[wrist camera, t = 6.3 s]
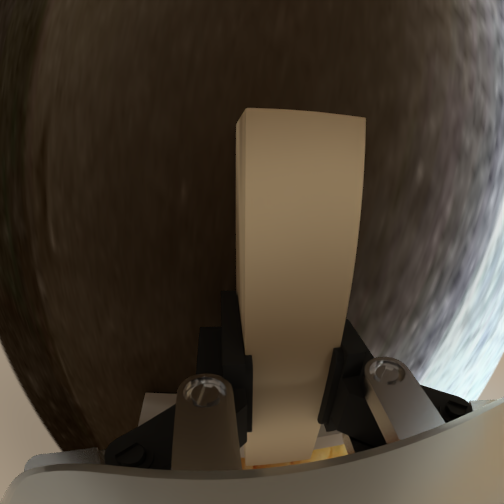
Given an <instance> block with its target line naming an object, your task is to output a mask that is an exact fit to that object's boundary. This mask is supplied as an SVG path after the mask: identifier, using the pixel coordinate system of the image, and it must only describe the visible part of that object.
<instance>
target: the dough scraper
mask: <svg viewBox="0 0 504 504" xmlns="http://www.w3.org/2000/svg"><path fill="white" fill-rule="evenodd" d="M365 133H366V118H363V117H356V116H348V115H341V114H332V113H323V112H313V111H301V110H287V109H266V108H246V109H245V110H244V112H243V114H242V115H241V117H240V119H239V120H238V122H237V124H236V292H237V295H238V302H239V311H240V319H241V327H242V335H243V343H244V351H245V355H252V360H253V412H252V432H247V442H246V443H245V444H244V445H243V446H242V447H241V448H240V455H241V458H245V464H246V466H254V465H266V464H276V463H285V462H293V461H300V460H306V459H310V458H311V455H312V452H313V450H316V449H321V448H327V447H332V446H337V445H342V444H344V442H343V438H342V434H343V433H341V432H339V431H337V430H336V431H330V432H326V429H325V426H324V424H319V423H318V421H317V418H318V414H319V410H320V406H321V402H322V398H323V394H324V390H325V385H326V381H327V377H328V372H329V367H330V363H331V358H332V353H333V348H337V347H340V345H341V341H342V336H343V331H344V325H345V320H346V315H347V309H348V303H349V298H350V292H351V285H352V279H353V272H354V265H355V258H356V250H357V242H358V233H359V224H360V214H361V203H362V191H363V177H364V160H365ZM176 398H177V394H165V393H145V397H144V401H143V406H142V410H141V415H140V419H139V424H138V426H140V425H141V424H143V423H145V422H147V421H148V420H150V419H152V418H153V417H155V416H156V415H158V414H160V413H161V412H163V411H165V410H166V409H168V408H169V407H171V406H173V405H174V404H176Z"/></svg>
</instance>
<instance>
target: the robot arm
mask: <svg viewBox="0 0 504 504" xmlns="http://www.w3.org/2000/svg"><path fill="white" fill-rule="evenodd" d="M221 320H222V327H200V333H199V344H198V356H197V369H196V375H194V376H191V377H189V378H187V379H186V380H184V381H183V382H182V383H181V384H180V385H179V388H178V391H177V398H176V404H174V405H173V406H171V407H169V408H168V409H166V410H165V411H163V412H161V413H160V414H158V415H156V416H155V417H153V418H152V419H150V420H148V421H147V422H145V423H143V424H141V425H140V426H138V427H136V428H135V429H133V430H131V431H129V432H128V433H126V434H124V435H122V436H121V437H119V438H117V439H116V440H114V441H113V442H112V443H110V445H109V446H108V447H107V449H104V450H98V448H97V447H94V448H88V449H81V450H74V451H67V452H59V453H49V454H40V455H36V456H33V457H32V458H31V459H29V460H28V462H27V463H26V465H25V469H24V472H23V473H21V474H20V475H18V476H17V477H16V478H15V479H14V480H13V481H12V483H11V484H10V485H9V487H8V488H7V490H6V492H5V494H4V496H3V498H2V500H1V502H0V504H504V397H502V398H500V399H498V400H480V401H470V402H469V403H468V402H467V401H466V400H464V399H462V398H460V397H458V396H454V395H451V394H448V393H445V392H441V391H438V390H435V389H432V388H429V387H426V386H422V385H420V384H419V383H418V381H417V380H416V379H415V377H414V376H413V374H412V373H411V371H410V370H409V369H408V367H407V366H406V365H405V364H404V363H402V362H401V361H399V360H397V359H394V358H390V357H377V358H374V357H373V356H372V354H371V353H370V351H369V350H368V348H367V347H366V345H365V344H364V342H363V341H362V339H361V338H360V336H359V335H358V333H357V332H356V330H355V329H354V327H353V326H352V324H351V323H350V321H349V320H348V319H346V320H345V325H344V331H343V336H342V341H341V345H340V347H337V348H333V353H332V358H331V363H330V367H329V372H328V377H327V381H326V385H325V390H324V394H323V398H322V402H321V406H320V410H319V414H318V418H317V421H318V423H319V424H324V426H325V429H326V432H330V431H336V430H337V431H339V432H341V433H343V434H342V438H343V442H344V445H345V447H346V450H347V453H348V455H344V456H340V457H335V458H330V459H325V460H320V461H314V462H308V463H302V464H295V465H288V466H280V467H271V468H261V469H248V470H242V463H241V455H240V448H241V447H242V446H243V445H244V444H245V443H246V442H247V432H252V412H253V360H252V355H245V351H244V343H243V335H242V327H241V319H240V311H239V302H238V295H237V292H236V291H221Z"/></svg>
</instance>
